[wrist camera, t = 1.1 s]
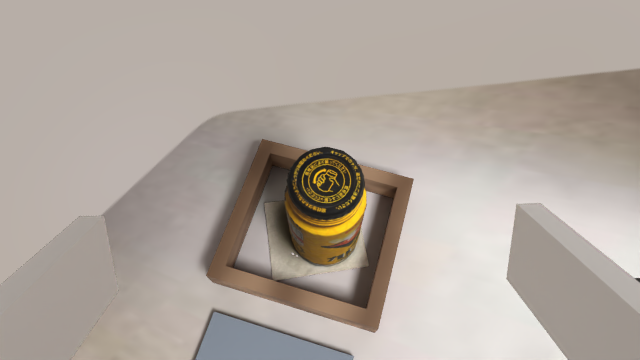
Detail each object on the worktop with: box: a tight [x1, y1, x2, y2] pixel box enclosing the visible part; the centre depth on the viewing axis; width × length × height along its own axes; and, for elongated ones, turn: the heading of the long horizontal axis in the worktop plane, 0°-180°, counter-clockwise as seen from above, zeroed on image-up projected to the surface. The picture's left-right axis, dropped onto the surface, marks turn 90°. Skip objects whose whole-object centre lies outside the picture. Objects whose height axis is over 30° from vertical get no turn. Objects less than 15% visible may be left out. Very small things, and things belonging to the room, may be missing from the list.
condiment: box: [264, 147, 369, 281], centre depth 35 cm, size 7×8×12 cm
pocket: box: [206, 139, 414, 333], centre depth 40 cm, size 14×13×2 cm
